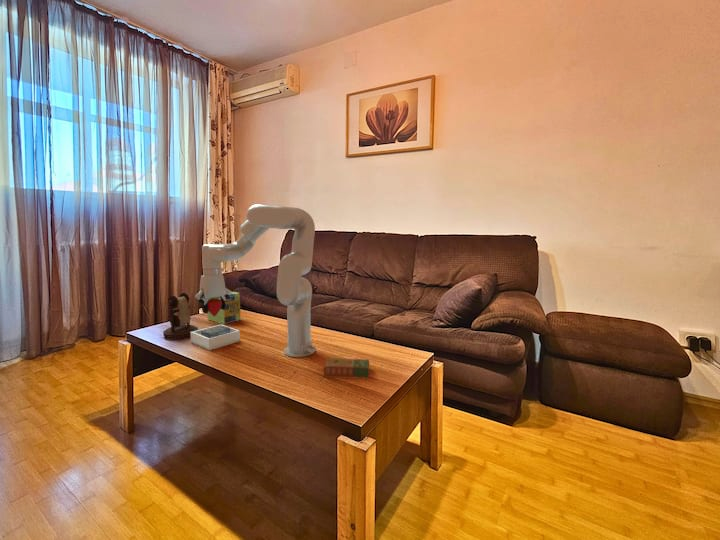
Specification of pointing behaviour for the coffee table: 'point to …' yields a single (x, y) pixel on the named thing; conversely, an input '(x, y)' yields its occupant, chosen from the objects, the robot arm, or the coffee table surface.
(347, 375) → the carton
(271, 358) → the coffee table surface
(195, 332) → the tote
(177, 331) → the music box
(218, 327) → the block
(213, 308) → the strawberry
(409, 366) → the coffee table surface
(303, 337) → the robot arm
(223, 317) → the protein box
